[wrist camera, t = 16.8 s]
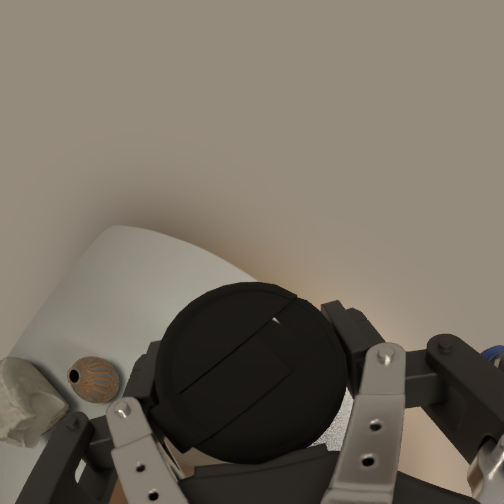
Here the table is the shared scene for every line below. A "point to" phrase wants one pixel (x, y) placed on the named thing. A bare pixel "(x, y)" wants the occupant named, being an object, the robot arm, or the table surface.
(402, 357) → the robot arm
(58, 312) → the table surface
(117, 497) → the cabinet
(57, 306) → the table surface
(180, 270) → the table surface
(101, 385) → the vase
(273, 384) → the travel mug
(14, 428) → the decorative stone
